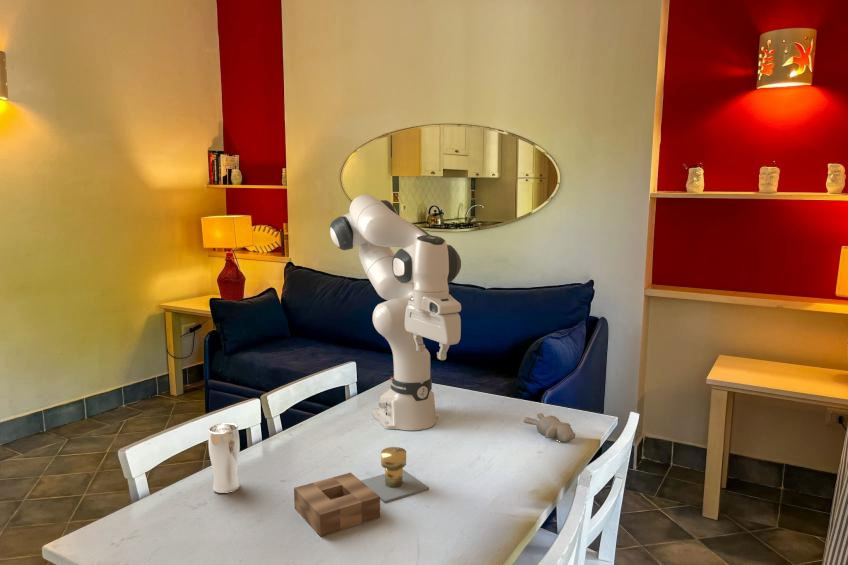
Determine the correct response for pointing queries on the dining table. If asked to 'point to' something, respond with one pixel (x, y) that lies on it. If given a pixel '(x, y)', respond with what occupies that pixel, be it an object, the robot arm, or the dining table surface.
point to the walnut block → (336, 503)
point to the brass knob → (393, 465)
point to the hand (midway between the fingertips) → (430, 355)
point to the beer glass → (224, 456)
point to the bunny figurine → (552, 427)
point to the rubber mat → (390, 494)
